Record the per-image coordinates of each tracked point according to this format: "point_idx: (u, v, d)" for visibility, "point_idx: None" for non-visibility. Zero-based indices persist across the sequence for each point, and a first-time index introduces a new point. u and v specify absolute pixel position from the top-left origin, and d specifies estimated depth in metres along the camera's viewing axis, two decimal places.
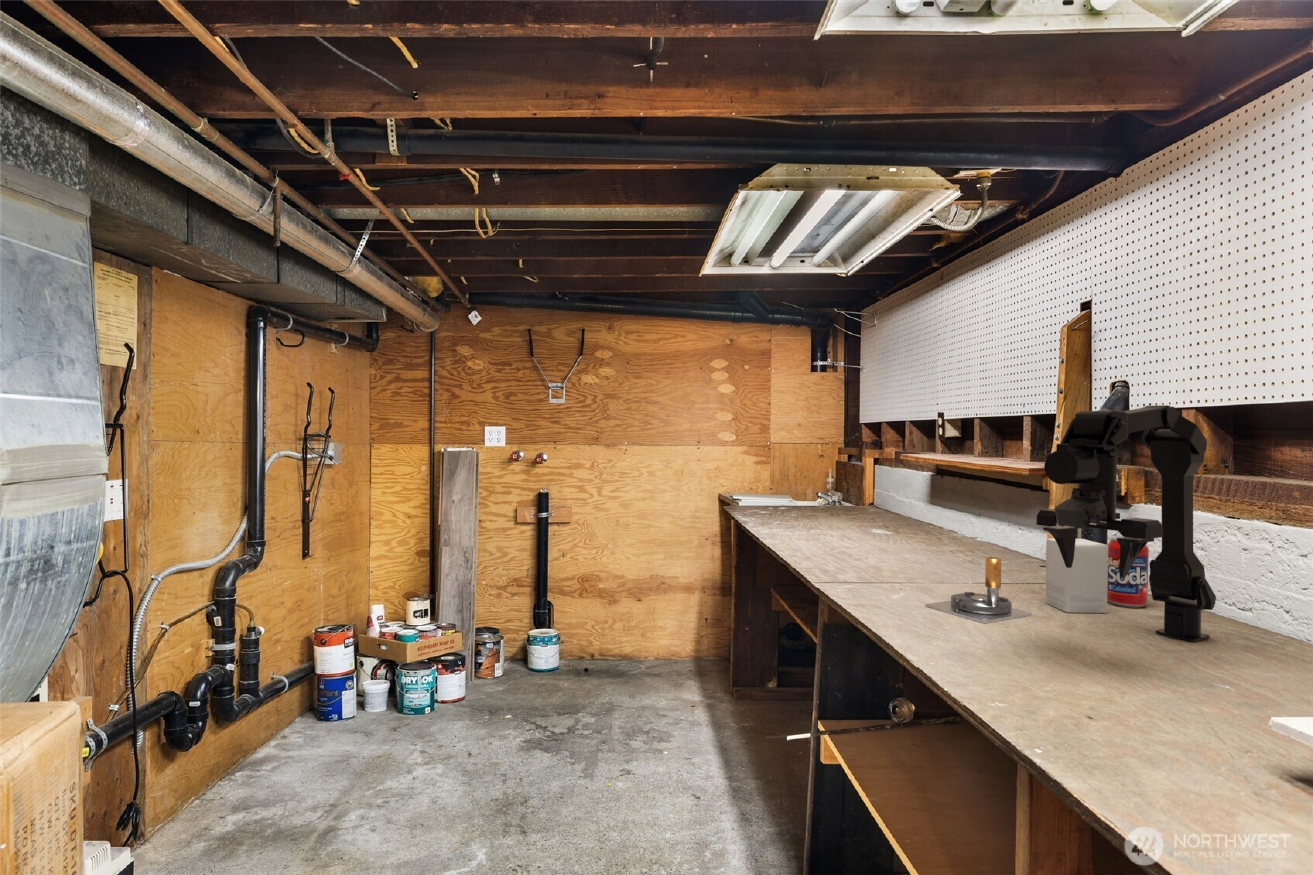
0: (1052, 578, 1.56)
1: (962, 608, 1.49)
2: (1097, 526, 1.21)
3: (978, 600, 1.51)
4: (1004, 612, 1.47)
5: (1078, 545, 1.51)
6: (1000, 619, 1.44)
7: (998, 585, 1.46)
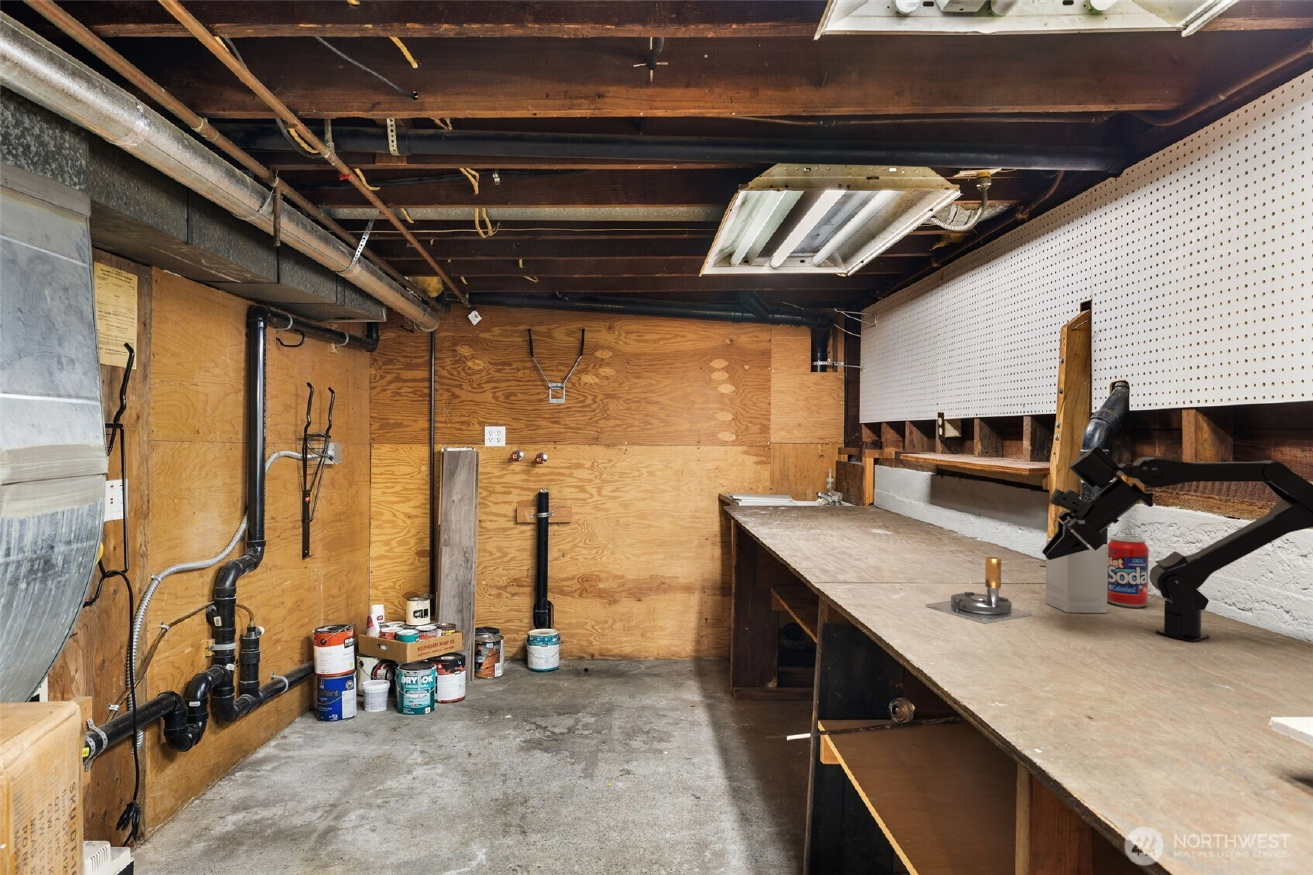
0: (1052, 578, 1.56)
1: (962, 608, 1.49)
2: None
3: (978, 600, 1.51)
4: (1004, 612, 1.47)
5: None
6: (1000, 619, 1.44)
7: (998, 585, 1.46)
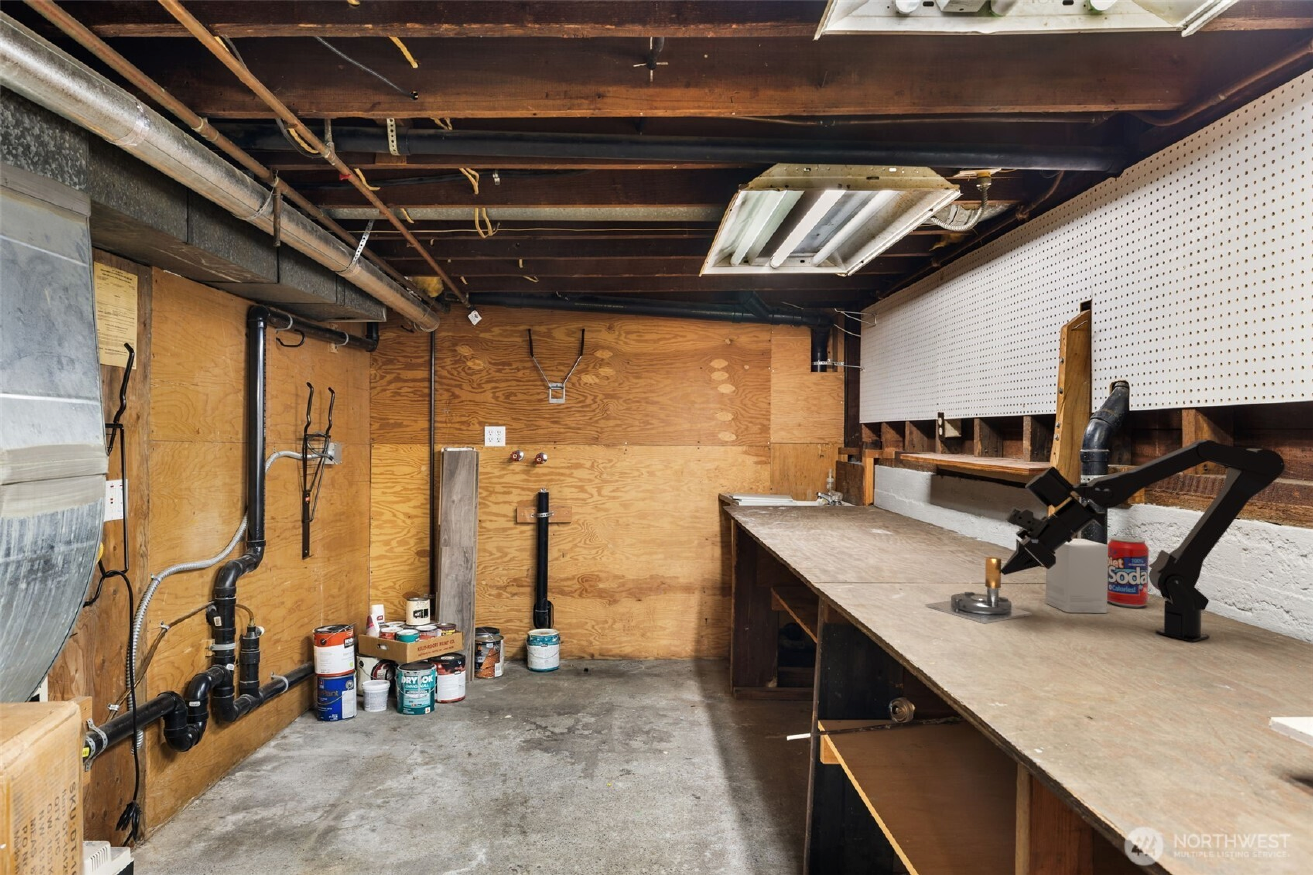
0: (1052, 578, 1.56)
1: (962, 608, 1.49)
2: None
3: (978, 600, 1.51)
4: (1004, 612, 1.47)
5: (1078, 545, 1.51)
6: (1000, 619, 1.44)
7: (998, 585, 1.46)
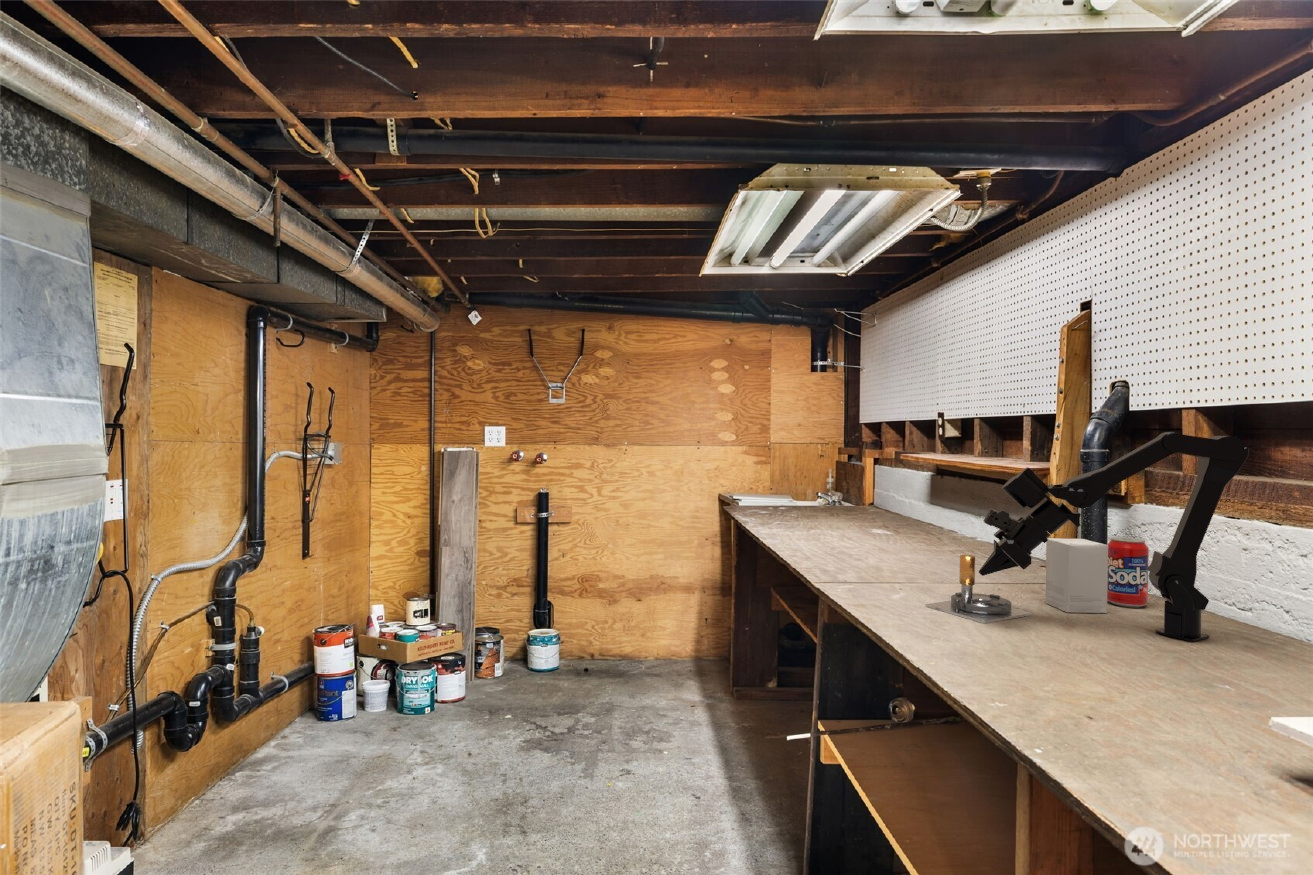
0: (1052, 578, 1.56)
1: None
2: None
3: None
4: (974, 611, 1.48)
5: (1078, 545, 1.51)
6: (1000, 619, 1.44)
7: (964, 582, 1.49)
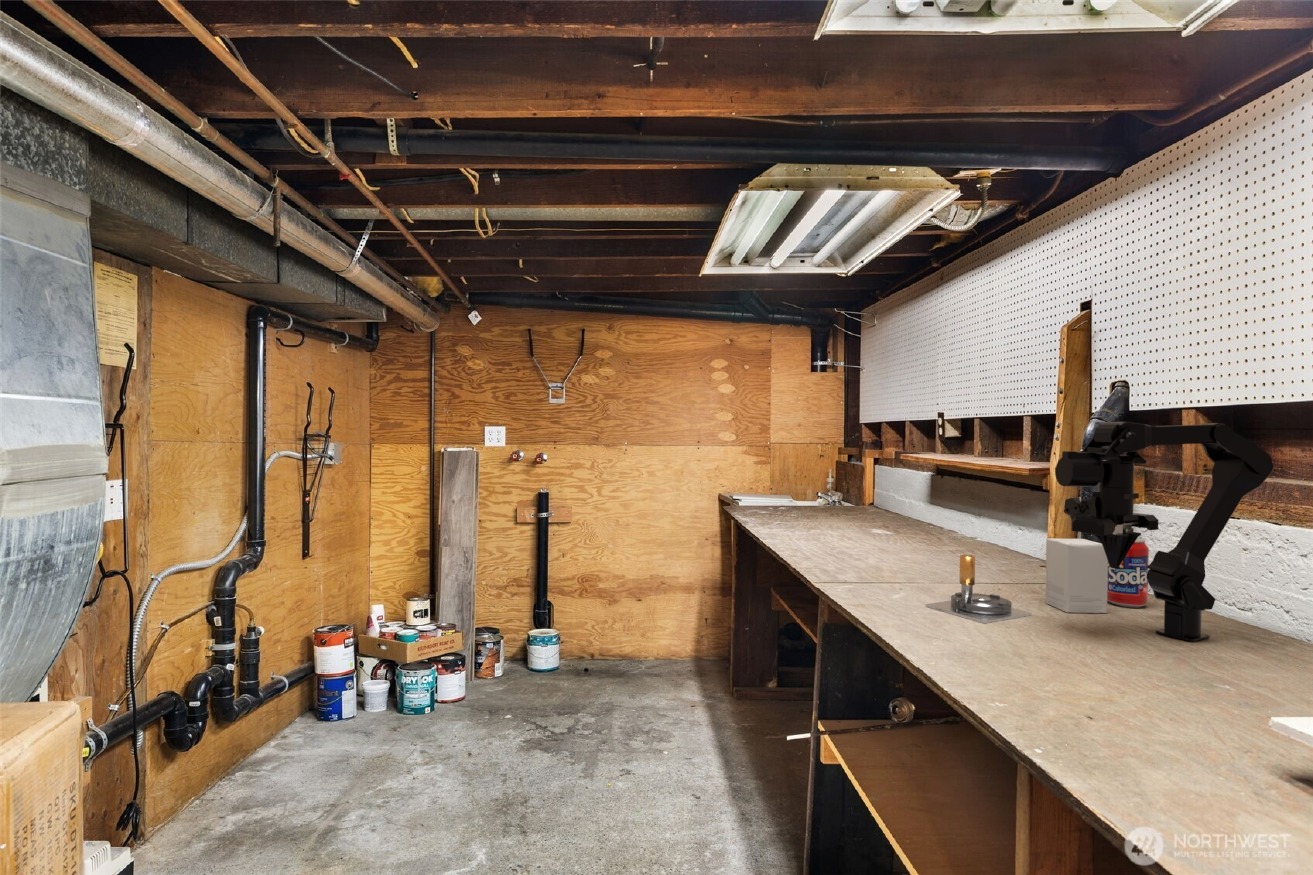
0: (1052, 578, 1.56)
1: None
2: None
3: None
4: (974, 611, 1.48)
5: (1078, 545, 1.51)
6: (1000, 619, 1.44)
7: (964, 582, 1.49)
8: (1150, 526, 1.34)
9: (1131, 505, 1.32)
